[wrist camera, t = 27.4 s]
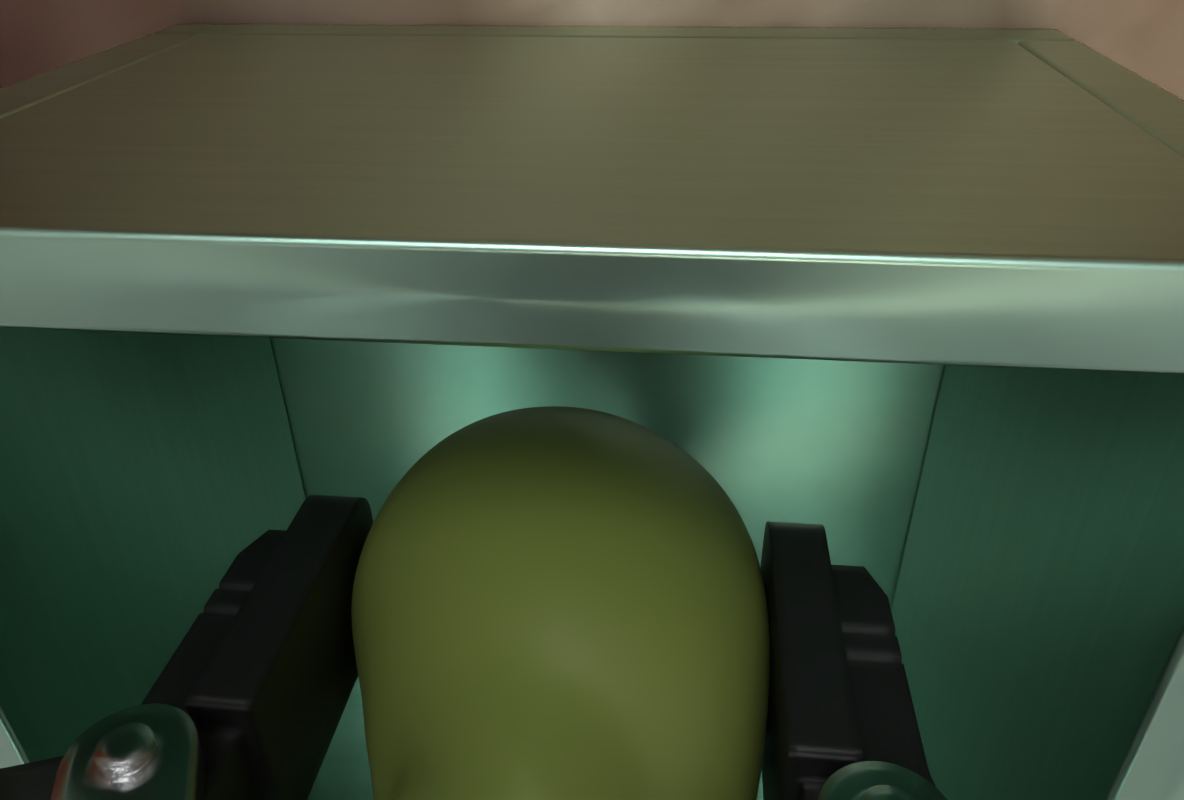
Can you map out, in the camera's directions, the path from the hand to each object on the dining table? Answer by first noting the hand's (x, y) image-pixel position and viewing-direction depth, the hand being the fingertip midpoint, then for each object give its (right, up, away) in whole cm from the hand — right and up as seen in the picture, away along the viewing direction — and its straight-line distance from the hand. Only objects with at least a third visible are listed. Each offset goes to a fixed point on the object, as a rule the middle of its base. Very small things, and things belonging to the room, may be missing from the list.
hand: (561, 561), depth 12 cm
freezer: (+1, +2, +6) cm, 6 cm away
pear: (0, +1, +2) cm, 2 cm away
